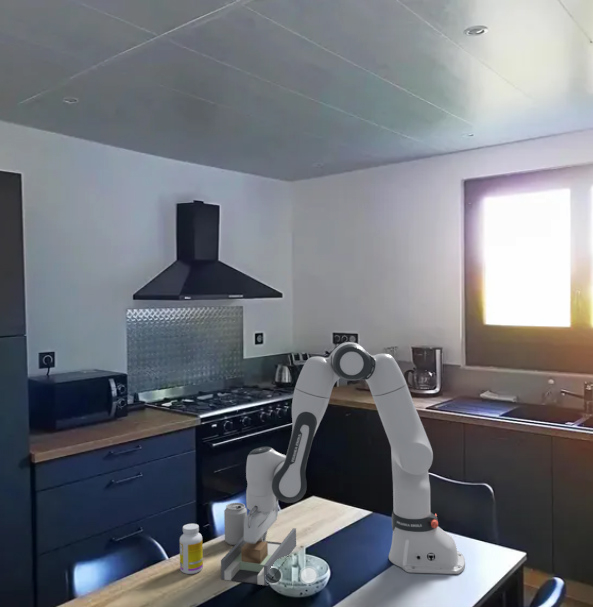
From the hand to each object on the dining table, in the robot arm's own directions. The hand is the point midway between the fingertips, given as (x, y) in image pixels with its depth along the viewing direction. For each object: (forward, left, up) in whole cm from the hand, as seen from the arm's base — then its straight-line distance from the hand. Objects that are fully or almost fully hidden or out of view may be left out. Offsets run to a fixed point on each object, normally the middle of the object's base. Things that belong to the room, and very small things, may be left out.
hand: (261, 546), depth 181 cm
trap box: (0, +1, -4) cm, 4 cm away
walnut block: (0, +5, -2) cm, 5 cm away
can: (+13, -11, -4) cm, 17 cm away
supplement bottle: (+18, +11, -5) cm, 22 cm away
